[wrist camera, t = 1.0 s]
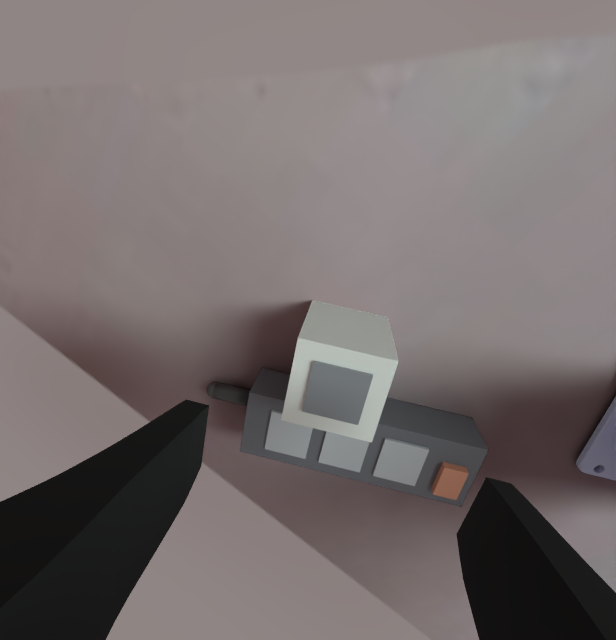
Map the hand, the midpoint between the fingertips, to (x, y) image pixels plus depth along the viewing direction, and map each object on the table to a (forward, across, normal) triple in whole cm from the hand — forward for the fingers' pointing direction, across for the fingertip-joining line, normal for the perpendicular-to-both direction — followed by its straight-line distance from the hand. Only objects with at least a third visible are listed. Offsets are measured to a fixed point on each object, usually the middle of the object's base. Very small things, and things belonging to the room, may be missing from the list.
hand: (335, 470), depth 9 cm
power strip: (+10, -1, +6) cm, 12 cm away
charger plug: (+10, 0, +1) cm, 11 cm away
